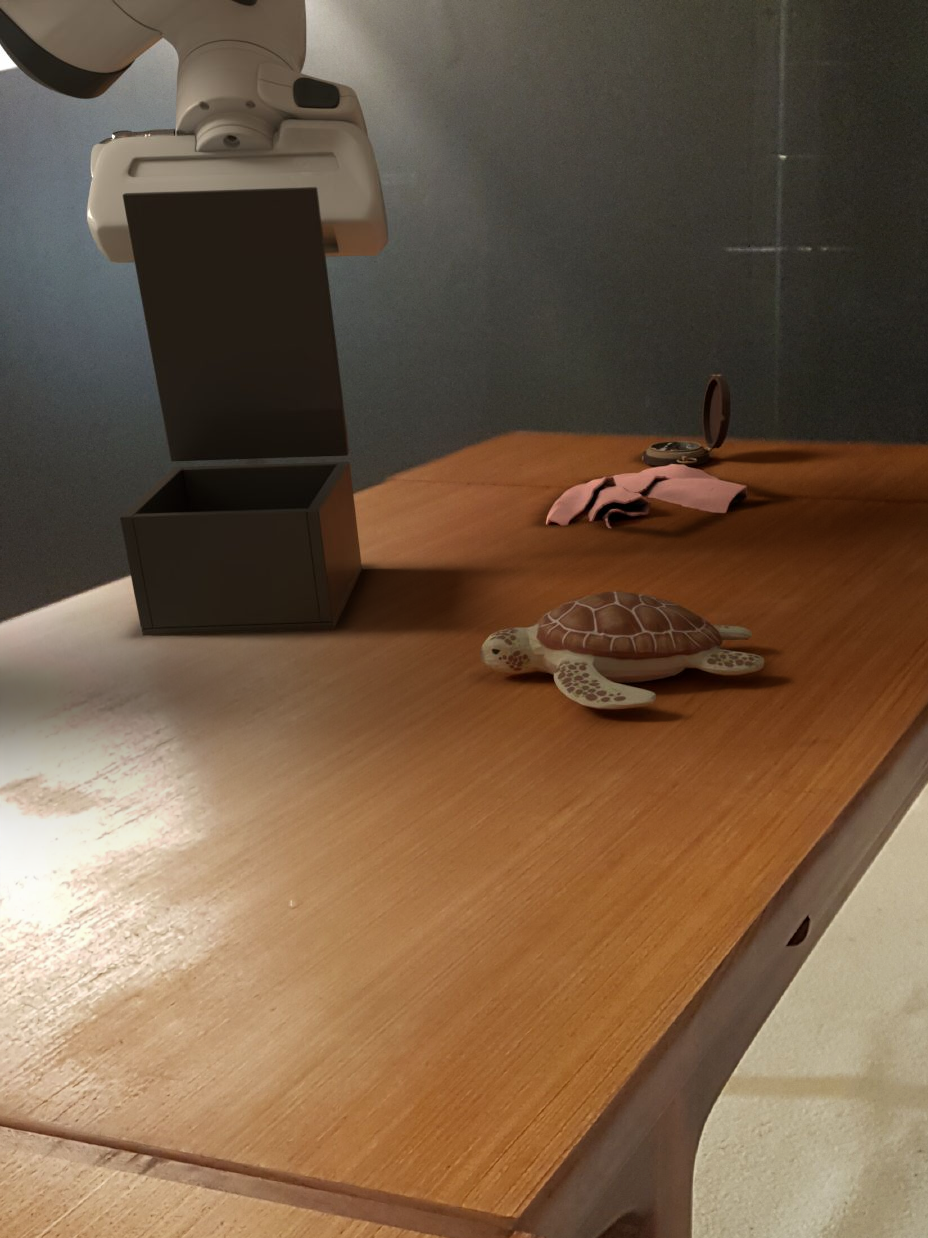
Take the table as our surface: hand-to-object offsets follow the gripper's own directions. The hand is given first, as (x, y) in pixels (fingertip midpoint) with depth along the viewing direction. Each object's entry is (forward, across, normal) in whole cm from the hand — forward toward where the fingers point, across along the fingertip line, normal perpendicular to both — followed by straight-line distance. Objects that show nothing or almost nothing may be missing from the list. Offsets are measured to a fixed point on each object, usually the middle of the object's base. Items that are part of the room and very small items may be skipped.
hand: (237, 302), depth 111 cm
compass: (-12, +32, +38) cm, 51 cm away
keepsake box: (+19, 0, +7) cm, 20 cm away
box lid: (+2, 0, 0) cm, 2 cm away
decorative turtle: (+32, +25, -7) cm, 41 cm away
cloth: (0, +28, +25) cm, 38 cm away
